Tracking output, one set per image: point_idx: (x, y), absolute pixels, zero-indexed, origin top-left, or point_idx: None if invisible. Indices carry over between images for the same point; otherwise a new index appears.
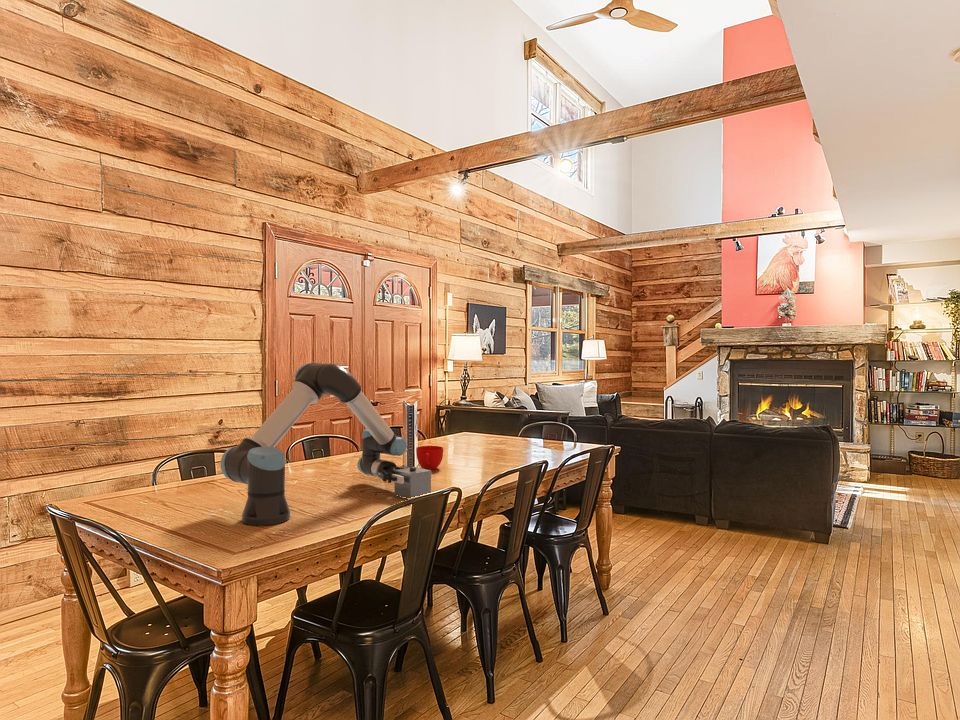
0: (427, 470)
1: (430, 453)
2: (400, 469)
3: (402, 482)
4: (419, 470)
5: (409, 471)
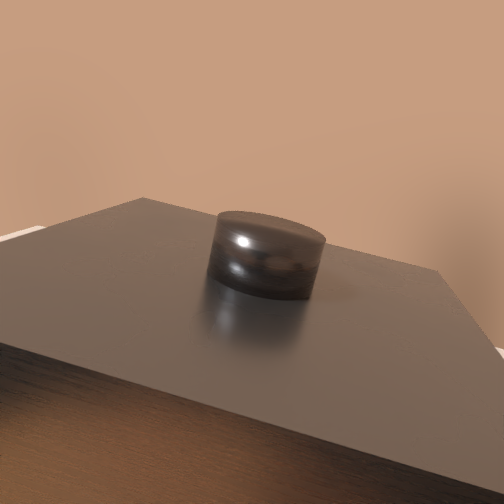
0: (159, 208)
1: None
2: (397, 439)
3: None
4: (208, 240)
5: (360, 291)
